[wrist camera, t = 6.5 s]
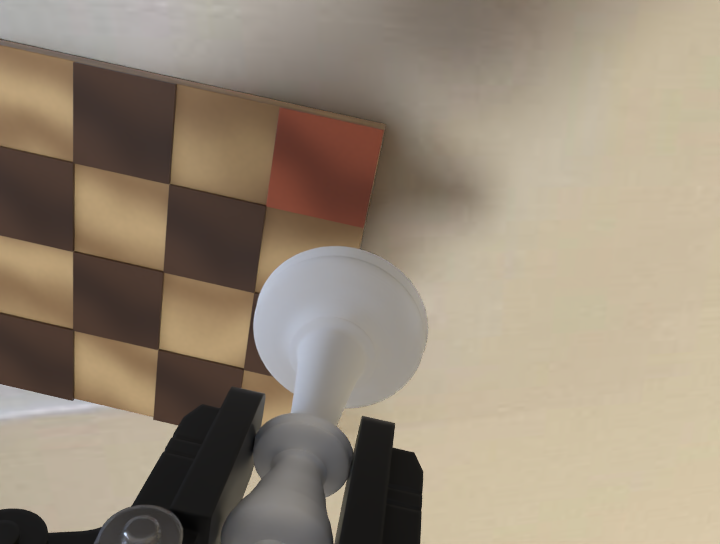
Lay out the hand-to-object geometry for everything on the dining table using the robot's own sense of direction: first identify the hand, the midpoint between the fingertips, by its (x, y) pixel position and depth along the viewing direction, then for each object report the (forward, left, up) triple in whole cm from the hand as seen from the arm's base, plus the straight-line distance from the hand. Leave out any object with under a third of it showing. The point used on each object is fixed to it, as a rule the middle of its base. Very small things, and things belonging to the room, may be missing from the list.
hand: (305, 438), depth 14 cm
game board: (+8, -10, -21) cm, 24 cm away
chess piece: (0, 0, -5) cm, 5 cm away
